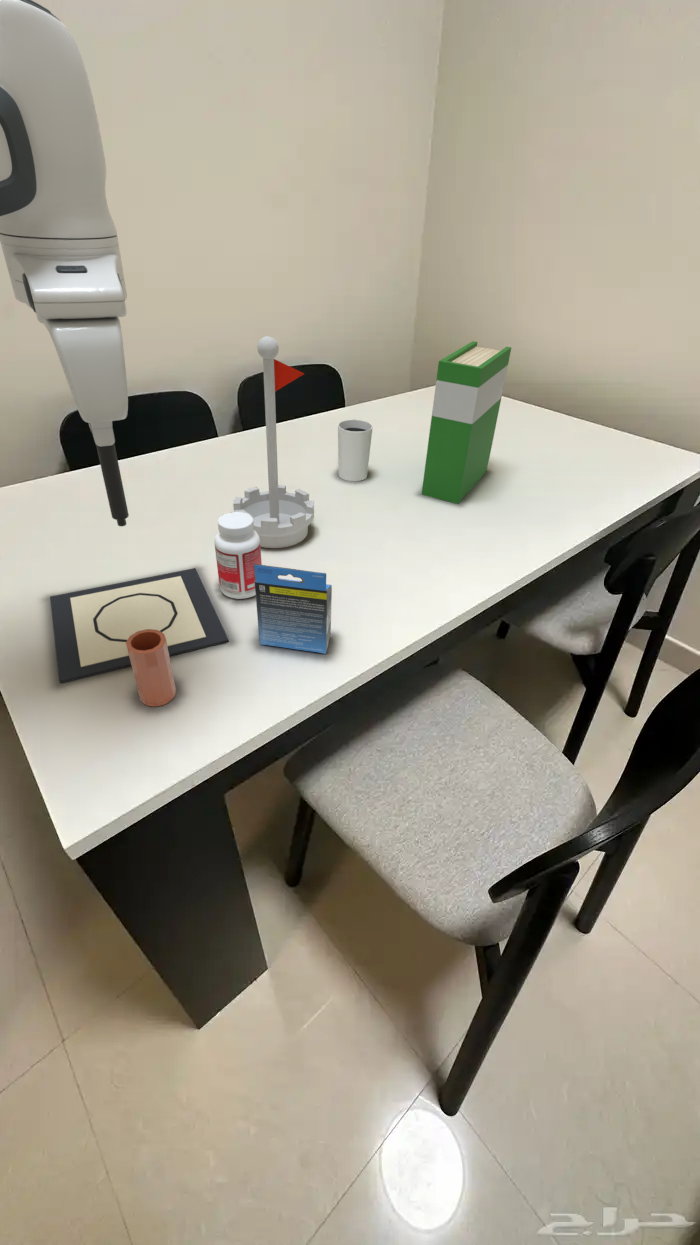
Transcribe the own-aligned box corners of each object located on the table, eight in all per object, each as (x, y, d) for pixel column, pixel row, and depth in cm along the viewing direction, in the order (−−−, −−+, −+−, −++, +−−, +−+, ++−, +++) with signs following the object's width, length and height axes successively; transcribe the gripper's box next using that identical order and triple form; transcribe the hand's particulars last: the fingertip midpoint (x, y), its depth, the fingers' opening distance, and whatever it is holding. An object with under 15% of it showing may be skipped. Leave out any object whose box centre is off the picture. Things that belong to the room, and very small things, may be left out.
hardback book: (453, 463, 123) (472, 341, 109) (486, 471, 121) (511, 347, 106) (421, 494, 111) (438, 361, 96) (458, 504, 108) (481, 368, 94)
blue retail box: (331, 636, 76) (334, 556, 69) (326, 655, 73) (328, 573, 66) (266, 626, 77) (261, 546, 70) (257, 645, 74) (252, 563, 67)
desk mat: (60, 683, 67) (58, 679, 67) (50, 598, 80) (49, 595, 80) (228, 641, 75) (228, 638, 74) (195, 570, 87) (195, 567, 87)
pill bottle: (260, 574, 87) (256, 507, 80) (265, 598, 82) (261, 529, 75) (218, 578, 86) (211, 510, 79) (220, 602, 81) (212, 532, 74)
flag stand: (246, 556, 91) (230, 350, 72) (228, 518, 100) (210, 327, 81) (324, 544, 95) (329, 346, 76) (300, 508, 104) (298, 324, 86)
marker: (115, 529, 62) (85, 395, 53) (112, 522, 63) (83, 389, 55) (131, 527, 63) (105, 393, 54) (129, 519, 64) (102, 388, 55)
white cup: (354, 485, 113) (357, 434, 107) (329, 474, 116) (330, 425, 110) (376, 475, 117) (379, 426, 111) (351, 465, 120) (353, 417, 114)
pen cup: (143, 710, 65) (129, 657, 60) (137, 687, 67) (123, 634, 62) (179, 700, 66) (168, 647, 61) (172, 678, 69) (161, 625, 64)
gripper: (21, 258, 55) (59, 407, 63) (32, 297, 40) (79, 483, 49) (93, 258, 57) (120, 402, 65) (127, 295, 43) (156, 473, 51)
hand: (102, 438), depth 57 cm, fingers closed on marker, 2 cm apart
